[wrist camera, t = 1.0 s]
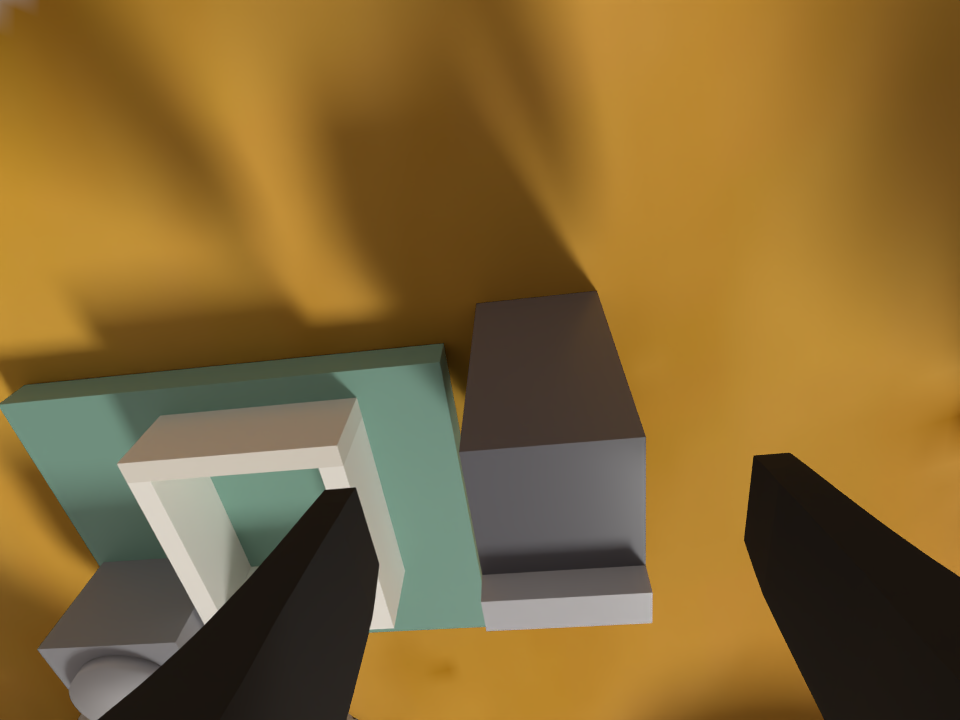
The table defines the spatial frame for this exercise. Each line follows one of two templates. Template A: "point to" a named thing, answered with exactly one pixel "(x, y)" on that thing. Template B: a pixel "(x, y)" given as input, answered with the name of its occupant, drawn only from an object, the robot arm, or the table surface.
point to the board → (244, 495)
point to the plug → (554, 467)
